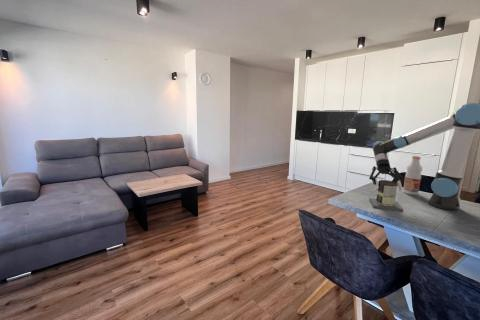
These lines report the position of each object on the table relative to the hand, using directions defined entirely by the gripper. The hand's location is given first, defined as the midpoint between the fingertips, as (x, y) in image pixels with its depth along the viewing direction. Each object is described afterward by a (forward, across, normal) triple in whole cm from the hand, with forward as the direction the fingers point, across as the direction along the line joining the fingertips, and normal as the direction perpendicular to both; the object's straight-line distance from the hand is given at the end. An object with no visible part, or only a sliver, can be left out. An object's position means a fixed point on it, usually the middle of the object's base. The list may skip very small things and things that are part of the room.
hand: (389, 189), depth 146 cm
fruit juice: (-15, -30, -32) cm, 46 cm away
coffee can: (+6, 0, -8) cm, 10 cm away
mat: (+7, 0, -10) cm, 12 cm away
